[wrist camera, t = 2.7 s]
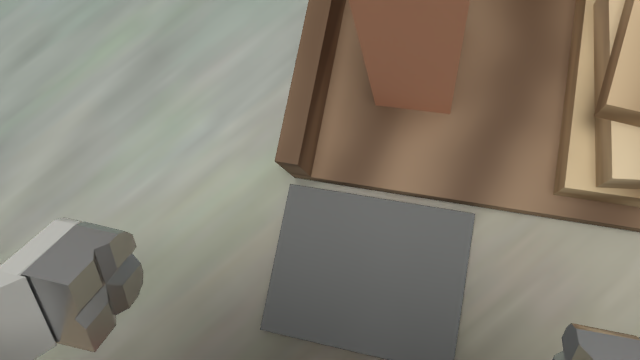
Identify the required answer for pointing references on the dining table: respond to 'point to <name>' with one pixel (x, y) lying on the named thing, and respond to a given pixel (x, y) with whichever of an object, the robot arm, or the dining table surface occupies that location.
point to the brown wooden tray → (444, 116)
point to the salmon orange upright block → (411, 50)
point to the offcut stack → (602, 105)
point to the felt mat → (369, 275)
